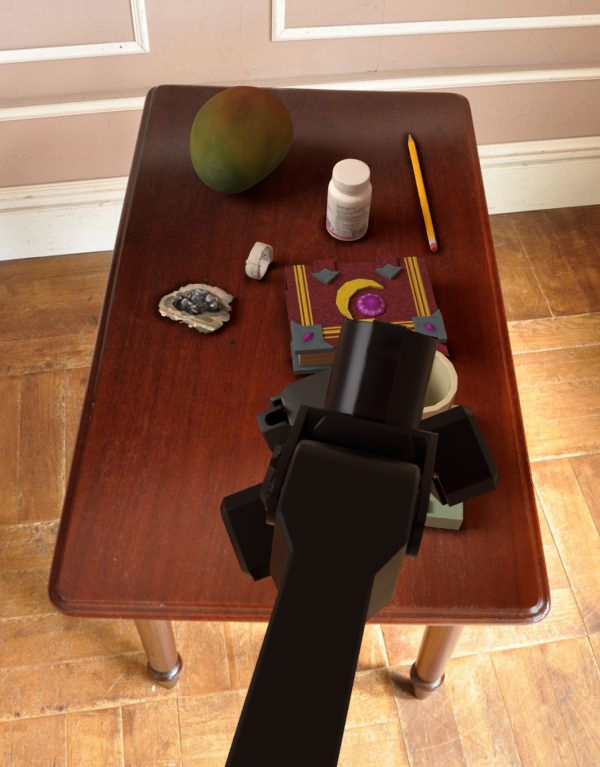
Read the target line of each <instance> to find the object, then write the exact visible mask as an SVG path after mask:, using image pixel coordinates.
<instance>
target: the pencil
mask: <svg viewBox="0 0 600 767" xmlns="http://www.w3.org/2000/svg"><path fill="white" fill-rule="evenodd" d="M407 145H408V149H409V154H410V159H411V164H412V168H413V173H414V177H415V183H416V187H417V192H418V197H419V201H420V206H421V209H422V210H421V211H422V215H423V220H424V224H425V229H426V233H427V239H428V242H429V243H428V244H429V249H430V251H431V252H436V251H437V250H438V249H439V248H438V244H437V239H436V235H435V230H434V225H433V221H432V216H431V212H430V207H429V202H428V197H427V193H426V189H425V185H424V180H423V176H422V175H423V174H422V171H421V167H420V162H419V157H418V151H417V148H416V143H415V141H414V139H413V137H412V136H411V134H408V142H407Z"/></svg>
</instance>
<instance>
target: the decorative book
mask: <svg viewBox="0 0 600 767" xmlns="http://www.w3.org/2000/svg"><path fill="white" fill-rule="evenodd" d="M284 296H285V303H286V309H287V310H286V311H287V317H288V324H289V331H290V339H291V340H290V351H291V359H292V360H291V361H292V366H293V374H294V376H297V375H307V374H315V373H318V372H321V371H323V370H326V369H328V368H331V367H332V366H333V361H334V357H335V352H336V348H337V343H338V339H339V334H340V330H341V325H342V321H343V318H347V319H352V320H361V321H369V322H373V320H379V321H384V322H389V323H393V324H398V325H403V326H407V329H409V330H412V331H416V332H419V333H422V334H425V335H429V336H434V337H438V338H439V341H438V345H437V350H436V351H438V352H441V353H442V354H443V355H444V356H448V357H450V354H449V351H448V347H447V345H445V344H446V343H447V341H448V336H447V332H446V328H445V325H444V324H445V323H444V322H445V321H444V318H443V314H442V312H441V310H440V308H439V309H438V306H437V302H436V298H435V293H434V290H433V286H432V283H431V278H430V274H429V271H428V268H427V263H426V259H425V256H424V255H420V256H419V255H418V256H406V257H404V256H403V257H397V255H396V253H393V254H392V253H391V254H380V255H375V259H363V260H351V261H338V262H337V261H336V262H335V261H334V258H327V259H326V258H323V259H313V262H312V263H310V264H309V263H308V264H295V265H284Z"/></svg>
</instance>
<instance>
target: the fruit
mask: <svg viewBox="0 0 600 767" xmlns="http://www.w3.org/2000/svg"><path fill="white" fill-rule="evenodd" d="M294 131H295V130H294V123H293V119H292V115H291V114H290V111H289V109H288V108H287V106H286V105H285V104H284V102H282V101H281V100H280V98H278V97H277V95H274V94H272V93H271V92H269V91H267V90H266V89H262V88H260V87H257V86H252V85H236V86H232V87H229V88H226V89H224V90H222V91H219V92H217V93H216V94H215V95H213V96H212V97H211V98H209V99H208V100H206V102H205V103H204V104H203V105H202V106H201V108H200V109H199V111H198V112H197V113H196V116H195V117H194V120H193V123H192V126H191V131H190V135H189V136H190V137H189V154H190V159H191V163H192V166H193V169H194V171H195V173H196V175H197V177H199V179H200V180H201V181H202V182H203V184H205V186H207V187H209V188H210V189H212V190H214V191H216V192H218V193H222V194H226V195H233V194H235V195H236V194H240V193H242V192H244V191H246V190H249V189H251V188H252V187H254V186H255V185H257V184H258V183H260V182H261V181H262V180H264V179H265V178H267V177H268V176H269V175H270V174H271V173H272V172H273V171H274V170H275V169H276V168H277V167H278V166H279V165H280V164H281V163H282V162H283V161H284V160H285V158H286V157H287V155H288V154H289V151H290V150H291V147H292V144H293V141H294Z"/></svg>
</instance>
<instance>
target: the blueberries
mask: <svg viewBox="0 0 600 767" xmlns="http://www.w3.org/2000/svg"><path fill="white" fill-rule="evenodd" d="M234 298H235V297H234V296H233V295H232V294H231V293H227V292H226V291H225V290H223V289H222V288H219V287H218V286H211V285H209V284H208V285H207V284H205V283H193V284H192V283H189V284H187V285H186V286H180V288H179V289H178V290H173V292H172V293H169V294H167V295H164V296H163V297H162V298H161V299H160V300H159V304H158V305H157V306H158V307H159V309H158V312H159V313H160V314H161V316H163V317H167V318H170V319H171V320H173V321H180V322H179V324H182V323H185V324H188V328H193V327H194V328H195V329H196V330H197V331H198V332H199V333H204V334H209V333H213V332H214V331H216V330H218V329H219V328H221V327H222V326H224V322H228V321H229V320H230V319H231V318H230V317H231V314H230V311H231V310H232V306H230V305H229V304H230V303H231V302H232V301H234V300H233V299H234Z"/></svg>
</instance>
